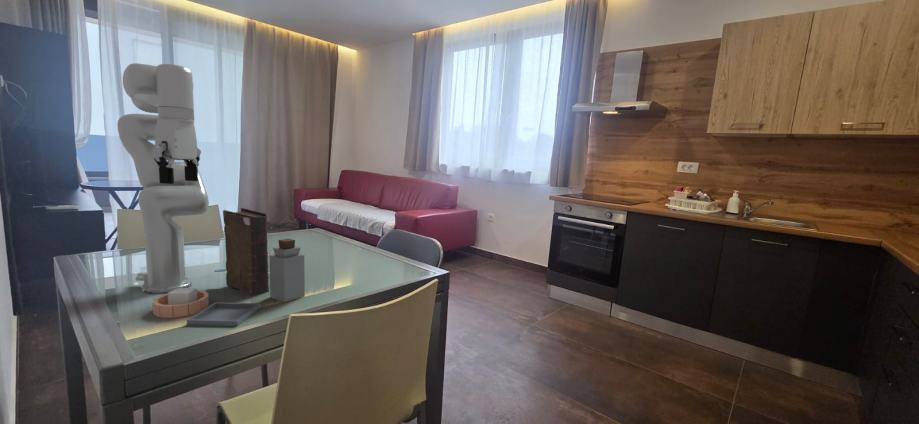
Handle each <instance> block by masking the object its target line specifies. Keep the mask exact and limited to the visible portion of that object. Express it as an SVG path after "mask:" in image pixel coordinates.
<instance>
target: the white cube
mask: <svg viewBox="0 0 919 424" xmlns="http://www.w3.org/2000/svg"><path fill="white" fill-rule="evenodd" d="M197 290H198V288H194V287H193V288H191V287H186V288H177V289H175V290H173V291H171V292H167V294H168V305H177V304H185V303H190V302H193V301H197Z"/></svg>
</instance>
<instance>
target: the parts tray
mask: <svg viewBox="0 0 919 424" xmlns="http://www.w3.org/2000/svg"><path fill="white" fill-rule="evenodd" d="M260 309H261V302H260V303H257V302H256V303H255V302H254V303H253V302H220V301H219V302H214V303H212V304H209V307H207V308H205V309H204V310H202V311H201V312H199V313H196V314H193V316H191V317H189V318H188V319H187V320H186V326H207V327H208V326H210V327H211V326H212V327H213V326H214V327H216V326H217V327H239V326H240V325H241V324H242V323H244V322H245V321H246V320H247V319H249V318H250V317H251V316H252V315H253V314H255V313H256V312H257V311H258V310H260Z"/></svg>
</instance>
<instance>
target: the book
mask: <svg viewBox="0 0 919 424" xmlns="http://www.w3.org/2000/svg"><path fill="white" fill-rule="evenodd" d="M222 215H223V216H222V217H223V224H224V225H223V226H224V227H223V230H224V231H223V232H224V235H225V237H224V238H225V258H226V260H225V270H226V274H225V277H226V279H225V281H226V286H227V287H229V288H230V289H233V290H234V289H235V290H238V291H241V290H242V291H244V292H245V293H247V294H250V295H261V294H266V293H270V283H269V280H270V275H269V267H270V264H269V256H268V255H269V252H268V242H269V241H268V216H267V213H263V212H261V211H260V212H259V211H256V210H250V209H249V208H243V207H241V208H240V211H237V212H233V211H230V210H226V209H223V211H222Z"/></svg>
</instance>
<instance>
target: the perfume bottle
mask: <svg viewBox="0 0 919 424" xmlns="http://www.w3.org/2000/svg"><path fill="white" fill-rule="evenodd" d="M295 244H296V240H295V239H292V238H284V239H278V246H276V247H275V246H274V247H272V249H273V252H274V254H270V255H269V254H268V255H269V256H268V260H269V293H270V294H269V295H270V296H269V297H270V298H271V299H274V300H276V301H278V302H282V303H288V302H291V301H293V300H296V299H300V298H303V297H305V291H306V290H305V288H306V287H305V282H306V280H305V277H306V276H305V274H306V273H305V254H302V253H300V251H301V246H296V245H295Z"/></svg>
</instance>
